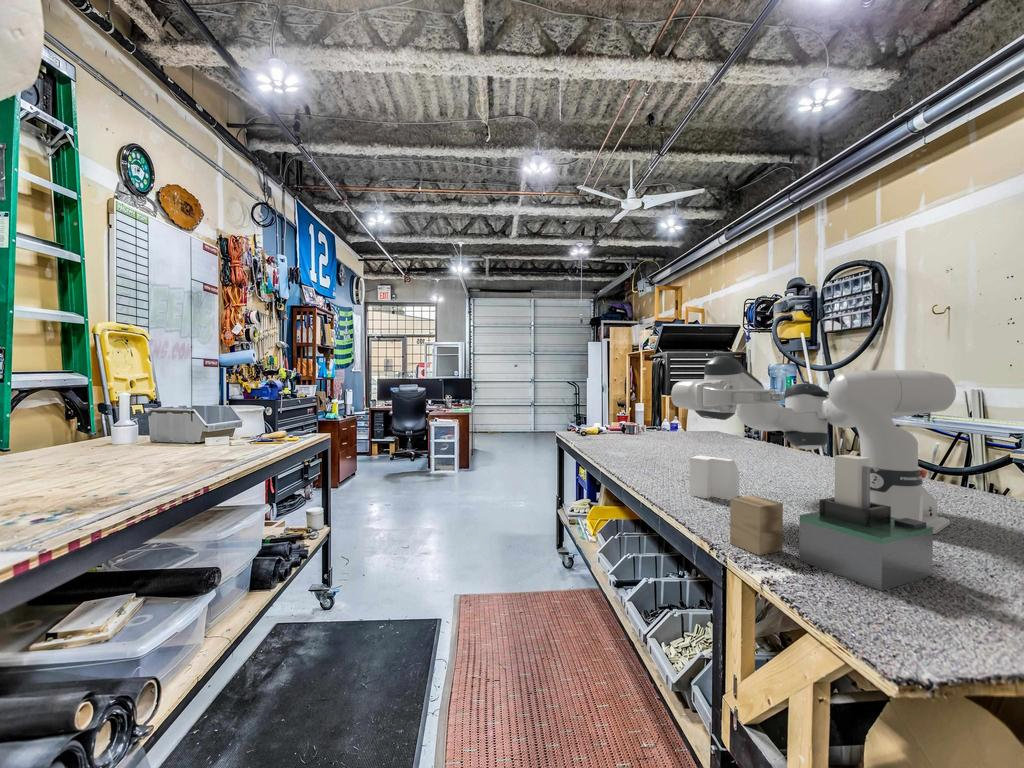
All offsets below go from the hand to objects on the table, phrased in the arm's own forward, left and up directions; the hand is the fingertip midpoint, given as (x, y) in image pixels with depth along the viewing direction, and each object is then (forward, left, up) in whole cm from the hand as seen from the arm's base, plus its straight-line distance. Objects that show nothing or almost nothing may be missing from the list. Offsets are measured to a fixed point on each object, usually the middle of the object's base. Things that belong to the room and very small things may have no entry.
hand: (768, 397), depth 103 cm
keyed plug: (+2, +19, -23) cm, 30 cm away
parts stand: (+12, +6, -32) cm, 35 cm away
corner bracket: (-15, -29, -32) cm, 46 cm away
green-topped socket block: (+2, +21, -32) cm, 38 cm away
